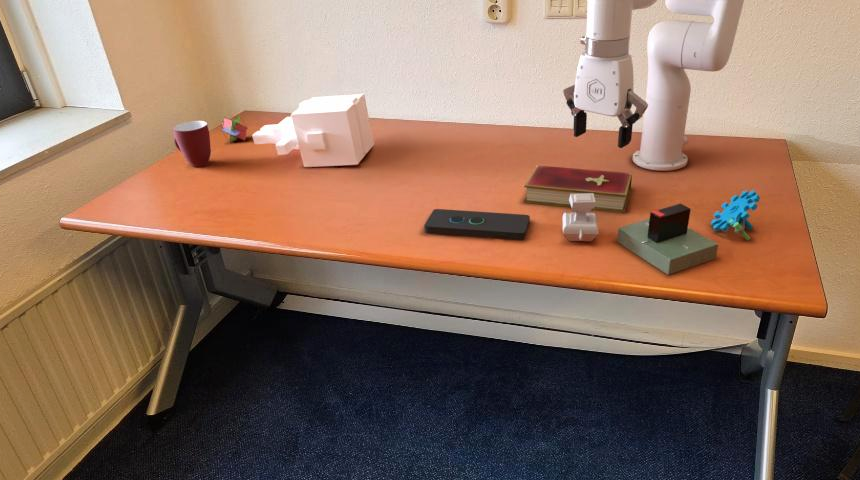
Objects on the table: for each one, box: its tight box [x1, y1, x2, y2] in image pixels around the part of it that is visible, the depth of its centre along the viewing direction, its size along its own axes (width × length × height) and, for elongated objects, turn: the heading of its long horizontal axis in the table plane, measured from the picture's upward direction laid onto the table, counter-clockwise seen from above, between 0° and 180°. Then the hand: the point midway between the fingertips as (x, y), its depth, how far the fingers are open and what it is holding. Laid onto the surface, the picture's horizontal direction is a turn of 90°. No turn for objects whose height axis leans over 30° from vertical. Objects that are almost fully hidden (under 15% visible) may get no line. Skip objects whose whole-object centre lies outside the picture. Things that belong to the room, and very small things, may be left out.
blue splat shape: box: [710, 189, 761, 241], centre depth 125 cm, size 11×6×10 cm
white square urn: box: [561, 193, 600, 242], centre depth 124 cm, size 9×7×8 cm
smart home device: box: [423, 208, 531, 241], centre depth 131 cm, size 8×2×20 cm
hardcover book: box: [523, 164, 633, 213], centre depth 142 cm, size 12×21×4 cm, turn 72°
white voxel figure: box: [251, 93, 375, 168], centre depth 165 cm, size 15×25×28 cm
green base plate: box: [616, 218, 719, 276], centre depth 120 cm, size 14×11×3 cm
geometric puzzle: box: [220, 115, 249, 144], centre depth 180 cm, size 7×7×8 cm
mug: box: [172, 120, 212, 168], centre depth 165 cm, size 11×8×10 cm
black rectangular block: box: [647, 203, 692, 243], centre depth 118 cm, size 7×3×5 cm, turn 117°
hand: (601, 140), depth 125 cm, fingers open, 9 cm apart
